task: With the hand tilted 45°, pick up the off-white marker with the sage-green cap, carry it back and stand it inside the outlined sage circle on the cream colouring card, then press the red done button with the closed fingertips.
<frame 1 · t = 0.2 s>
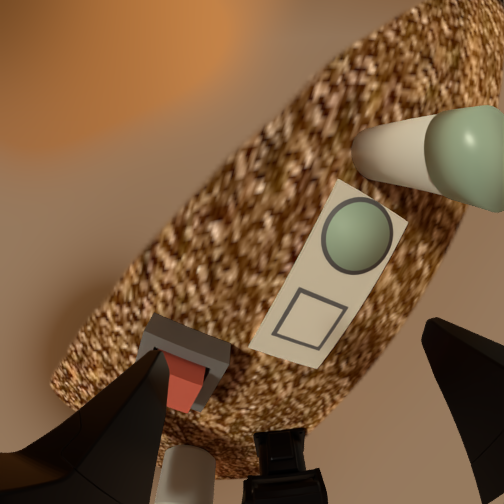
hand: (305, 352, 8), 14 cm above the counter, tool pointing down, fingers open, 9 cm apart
can: (191, 453, 32), on the counter
marker: (375, 154, 20), on the counter
button housing: (180, 356, 25), on the counter
done button: (173, 380, 22), point 4 cm above the counter, slide at 0.0 cm
colouring card: (329, 287, 23), on the counter
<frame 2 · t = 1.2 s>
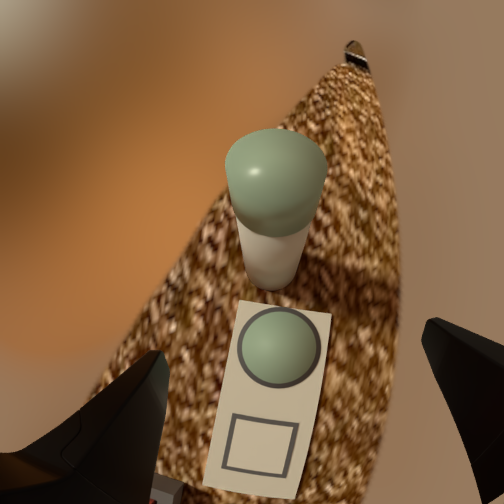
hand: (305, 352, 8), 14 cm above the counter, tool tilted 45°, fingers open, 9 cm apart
marker: (271, 266, 24), on the counter
button housing: (139, 498, 15), on the counter
colouring card: (267, 407, 19), on the counter
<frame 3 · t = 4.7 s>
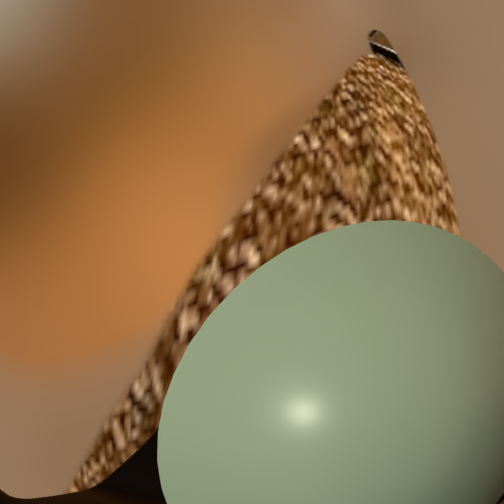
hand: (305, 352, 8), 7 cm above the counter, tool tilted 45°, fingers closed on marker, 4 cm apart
marker: (289, 383, 14), on the counter, touching gripper
when the fingers open (8 cm above the counter, at t = 8.3 s): marker drops 1 cm, resting on colouring card.
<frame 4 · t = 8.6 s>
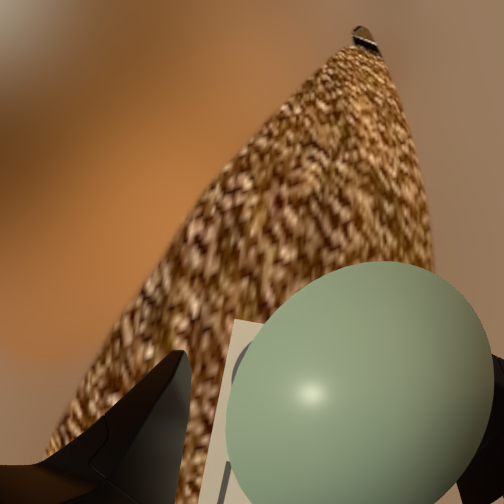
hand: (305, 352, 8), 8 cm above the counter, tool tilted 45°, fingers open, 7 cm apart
marker: (286, 382, 15), point 1 cm above the counter, touching colouring card
colouring card: (271, 454, 13), on the counter
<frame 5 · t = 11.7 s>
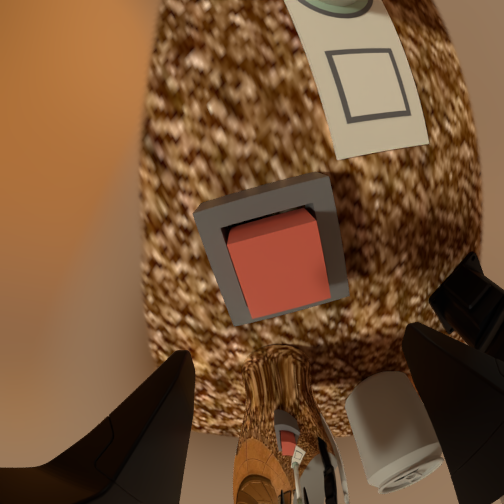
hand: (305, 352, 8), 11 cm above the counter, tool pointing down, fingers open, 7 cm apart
can: (374, 388, 25), on the counter
beer glass: (275, 367, 23), on the counter
button housing: (273, 241, 18), on the counter
done button: (279, 261, 15), point 3 cm above the counter, slide at 0.0 cm
colouring card: (353, 39, 13), on the counter
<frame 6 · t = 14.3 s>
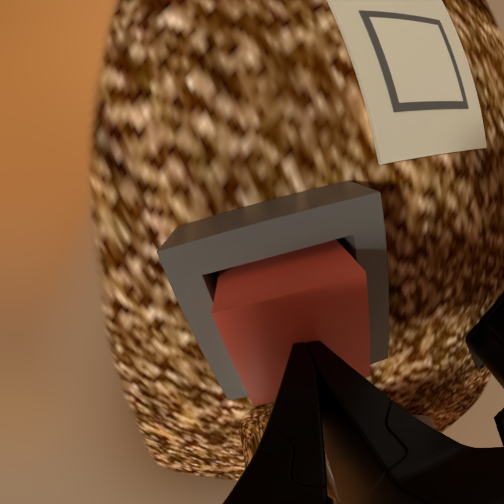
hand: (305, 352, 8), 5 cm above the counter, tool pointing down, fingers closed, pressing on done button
beer glass: (280, 422, 17), on the counter
button housing: (284, 281, 13), on the counter
done button: (296, 324, 9), point 3 cm above the counter, slide at 0.1 cm, touching gripper
colouring card: (393, 2, 8), on the counter
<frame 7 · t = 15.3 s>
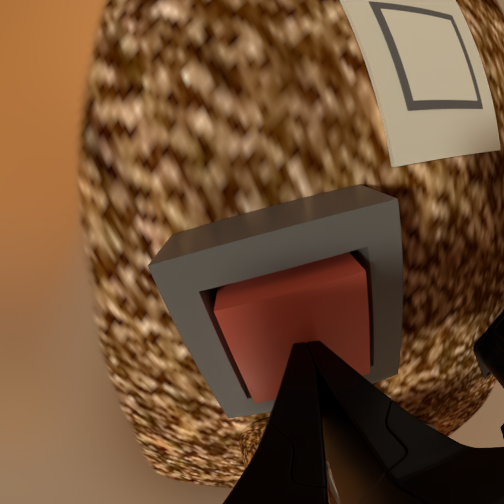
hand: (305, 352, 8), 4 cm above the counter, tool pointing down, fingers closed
beer glass: (283, 434, 16), on the counter
button housing: (288, 293, 12), on the counter
done button: (296, 322, 10), point 2 cm above the counter, slide at 1.4 cm
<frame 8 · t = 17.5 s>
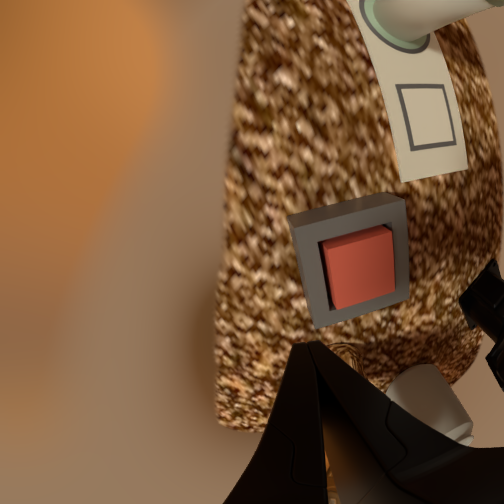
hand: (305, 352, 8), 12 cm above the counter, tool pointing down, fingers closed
can: (408, 381, 26), on the counter
marker: (397, 18, 13), resting on colouring card
beer glass: (331, 365, 24), on the counter
button housing: (346, 251, 20), on the counter
done button: (356, 262, 18), point 2 cm above the counter, slide at 1.4 cm
colouring card: (415, 73, 15), on the counter
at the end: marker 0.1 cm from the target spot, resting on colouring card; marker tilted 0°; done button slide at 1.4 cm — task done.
